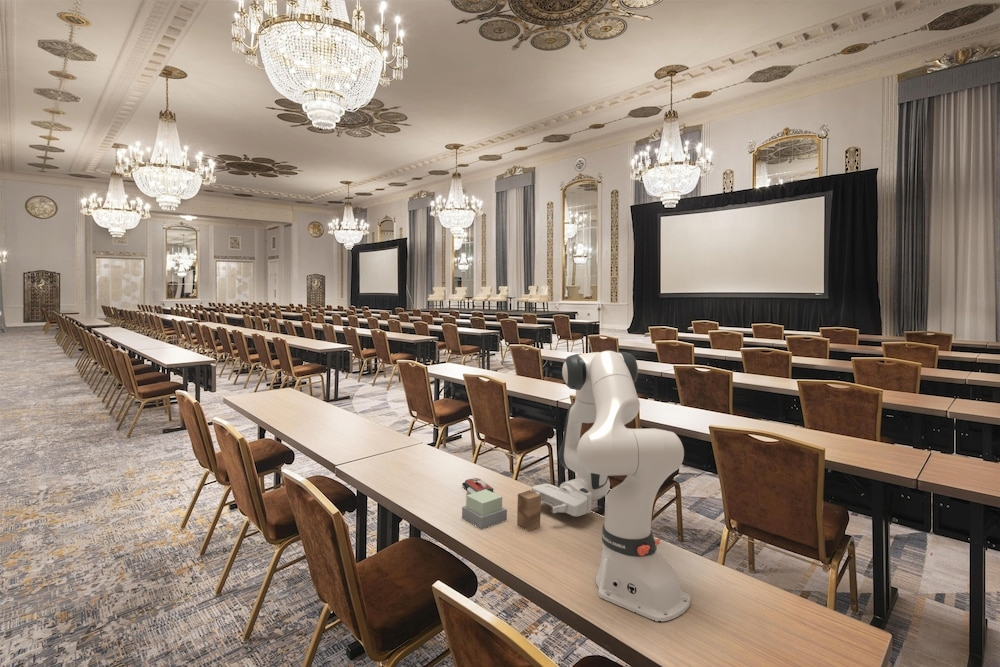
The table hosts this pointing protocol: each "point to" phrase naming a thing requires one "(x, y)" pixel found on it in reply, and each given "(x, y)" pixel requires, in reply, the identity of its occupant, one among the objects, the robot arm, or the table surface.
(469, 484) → the walkie-talkie
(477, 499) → the tower top block
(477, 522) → the tower base block
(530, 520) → the walnut pillar
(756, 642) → the table surface
